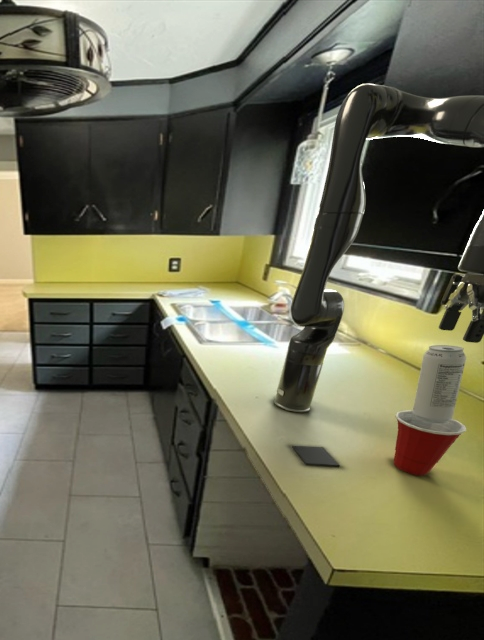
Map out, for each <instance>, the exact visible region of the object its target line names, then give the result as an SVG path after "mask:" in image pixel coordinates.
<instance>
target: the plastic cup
mask: <svg viewBox="0 0 484 640" xmlns="http://www.w3.org/2000/svg"><path fill="white" fill-rule="evenodd" d="M395 419H396V421H397V434H396V440H395V441H396V442H395V448H394V450H395V452H394V455H393V456H394V457H393V464H394V466H395V467H396V468H397V469H399V470H401V471H403V472H405V473H408V474H411V475H415V476H426V475H428V473H430V472H431V470H432V469H433V468H434V467H435V465H437V464H438V463H439V461H440V460H441V459H442V458H443V456H444V455H445V454H446V452H448V450H449V448H450V447H452V445H453V443H455V442H456V440H457V439H458V438H459V437H460V436H461V435H462V434H464V433H465V432H467V428H466V427H467V426H465V424H463V423H461V422H460V421H458V420H456V419H453V418H452V419H450V420H448V422H447V423H429V422H425V421H421V420H419V419H417V418H416V417H415V414H414V413H413V409H411V410H410V409H409V410H400V411H398V412H395Z"/></svg>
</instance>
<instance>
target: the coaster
mask: <svg viewBox="0 0 484 640" xmlns="http://www.w3.org/2000/svg"><path fill="white" fill-rule="evenodd" d="M292 450H293V451H295V452H296V454H297V455H298V456H299V458H300V459H301V460H302V462H303V463H304V464H305V465H306V466H307V465H308V466H323V467H324V466H325V467H340V464H339V463H338V462H337V461H336V459H335V458H334V457H333V456H332V455H331V454H330V453H329V452H328V451H327V450H326V449H325V448H324V447H323V446H307V445H306V446H303V445H292Z"/></svg>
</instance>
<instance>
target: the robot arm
mask: <svg viewBox="0 0 484 640" xmlns="http://www.w3.org/2000/svg"><path fill="white" fill-rule="evenodd" d="M334 123H335V124H334V128H333V136H332V142H331V149H330V154H329V162H328V168H327V172H326V176H325V182H324V184H323V185H324V187H323V191H322V195H321V200H320V203H319V207H318V210H317V214H316V218H315V221H314V225H313V229H312V230H313V231H312V235H311V240H310V244H309V247H308V251H307V254H306V258H305V262H304V265H303V269H302V272H301V275H300V276H299V279H298V283H297V285H296V289H295V290H294V294H293V298H292V300H291V304H290V309H289V310H290V311H289V313H290V318H291V321H292V322H293V324H294V325H295V326H298V327H300V328H301V327H302V329H301V330H300V332H298V333H296V334H294V335H292V336H291V337H290V339H289V341H288V345H287V349H286V352H285V356H284V357H285V358H284V362H283V365H282V369H281V373H280V377H279V382H278V386H277V387H276V388H277V389H276V393H275V397H274V400H273V404H274V405H275V406H276V407H279V408H280V409H282V410H285V411H289V412H293V413H307V412H309V411H311V407H312V402H313V399H314V396H315V392H316V390H317V386H318V382H319V379H320V375H321V372H322V368H323V365H324V362H325V358H326V355H327V352H328V348H329V347H330V346H331V345H332V343H333V342H334V340H335V338H336V336H337V333H338V329H339V327H340V325H341V321H342V318H343V316H344V311H345V300H344V297H343V295H342V294H341V293H340V292H339V291H337V290H334V289H326V286H327V284H328V280H329V277H330V275H331V273H332V271H333V269H334V267H335V266H336V264H337V263H338V262H339V260H340V259H341V258H342V257H343V256H344V255H345V254H346V252H347V251H348V250H349V248H350V247H351V246H352V244H353V243H354V241H355V240H356V238H357V235H358V233H359V230H360V227H361V225H362V221H363V217H364V214H365V210H366V203H367V195H366V189H365V181H364V177H363V169H362V165H363V163H362V162H363V157H364V151H365V147H366V145H367V140H373V139H383V138H393V137H411V138H412V137H413V138H418V139H419V138H420V139H424V140H428V141H431V142H436V143H439V144H445V145H454V146H460V147H469V148H484V95H457V96H456V95H455V96H449V97H426V96H419V95H415V94H412V93H410V92H406V91H403V90H400V89H398V88H396V87H394V86H387V85H381V84H377V83H375V84H374V83H362V84H360V85H357V86H356V87H355V88H353V89H352V90H351V91H350V92H349V93H348V94H347V95H346V97H345V98H344V99H343V101H342V103H341V105H340V107H339V110H338V112H337V115H336V118H335V122H334ZM457 270H458V271H459V272H462V273H454V274H452V275H451V278H450V280H449V283H448V284H447V287H446V289H445V291H444V293H443V296H442V299H441V300H440V305H441V306H443V309H444V313H443V315H442V318H441V320H440V323H439V325H438V329H439V330H441V331H451V332H452V331H454V330H455V328H456V326H457V323H458V322H459V319H460V317H461V315H462V311H463V310H464V309H465V308H466V307H467V306H468V309H469V310H471V313H472V314H471V320H470V322H469V324H468V326H467V328H466V330H465V332H464V335H463V337H462V341H463V342H466V343H475V344H478V343H480V342H481V341H482V339H483V337H484V210H483V211H482V214H481V215H480V217H479V220H478V221H477V222H476V224H475V226H474V228H473V230H472V232H471V234H470V237H469V240H468V241H467V244H466V246H465V249H464V252H463V253H462V256H461V258H460V261H459V263H458V266H457ZM463 272H464V274H463Z"/></svg>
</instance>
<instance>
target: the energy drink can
mask: <svg viewBox="0 0 484 640" xmlns="http://www.w3.org/2000/svg"><path fill="white" fill-rule="evenodd" d="M466 360H467V356H466V354H465V352H464V347H461V346H458V345H449V344H448V345H446V344H441V345H440V344H437V345H436V344H435V345H429V347H428V349H427V350H426V351H425V352H424V354H423V355H422V360H421V365H420V371H419V377H418V381H417V385H416V386H417V388H416V392H415V396H414V401H413V407H412V410H413V413H414V414H415V417H416V418H417V419H419V420H421V421H425V422H429V423H447V422H448V420H450V419H453V418H454V413H455V410H456V404H457V402H458V401H457V400H458V396H459V391H460V388H461V382H462V378H463V374H464V369H465V365H466Z"/></svg>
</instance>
